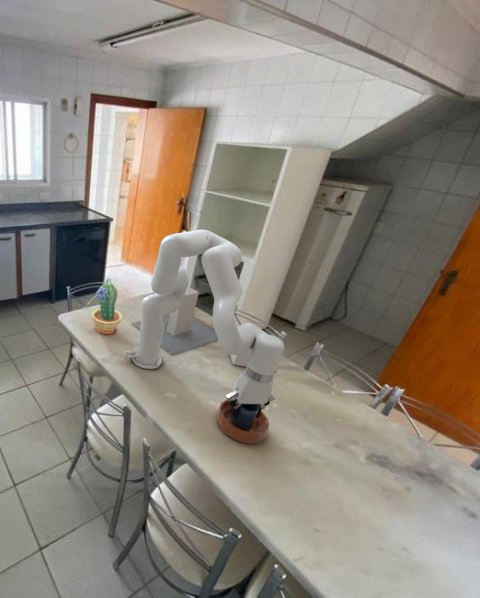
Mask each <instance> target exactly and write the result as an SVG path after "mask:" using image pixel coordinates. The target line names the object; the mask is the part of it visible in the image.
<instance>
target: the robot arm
mask: <svg viewBox="0 0 480 598" xmlns="http://www.w3.org/2000/svg"><path fill="white" fill-rule="evenodd" d="M198 255H201V258H200V261H201V265H202V268H203V271H204V273H205V277H206V279H207V283H208V284H209V288H210V291H211V293H212V296H213V300H214V302H213V307H212V325H213V330H214V331H215V333H216V335H217V338H218V343H219V345H220V347H221V348H222V349H223V351H224V352H226V353H227V354H229V355H230V354H231V355H239V354H241V353H243V352H245V351H247V350H248V349H251V350H252V353H251V356H250V359H249V362H248V365H247V367H246V368H245V370H243V371H242V372H241V373H240V375H239V376H238V378H237V379H236V382H235V384H234V386H233V389H232V392H229V393H228V394H226V395H225V398H226V400H228V401H229V402H230V404H231V405H232V406H231V409H230V413H231V414H232V416H233V417H234V418H237V415H238V412H239V409H238V408H239V407H240V406H241V405H242V404H258V405H259V407H260V409H259V412H258V414H257V417H256V418H259V416H260V413H261V411H262V412H263V410H265V409H266V407H267V406H268V405H270V403H273V402H274V401H275V400H276V397H275V396H274V395H273V394H272V392H273V388H274V376H275V375H276V374H278V370H277V368H278V366H279V363H280V361H281V358H282V356H283V353H284V350H285V344H284V342H283V340H282V339H280V338H279V337H277V336H275V335H271V334H269V333H267V332H266V331H264V330H263V329H260V328H258V327H257V326H255V325H256V324H253V323H250V322H244V324H243V323H242V324H240V325H237V323H236V319H235V315H236V314H235V313H236V307H237V304H238V302H239V300H240V298H241V296H242V293H243V288H242V285H241V283H240V280H239V278H238V275H237V272H236V270H235V268H236V267H239V265H240V264H241V263H242V260H243V254H242V251H241V249H240V248H239V247H238V246H237V245H236V244H234V243H233V242H231V241H229V240H228V239H226V238H224V237H222V236H220V235H218V234H217V233H214V232H212V231H210V230H207V229H196V230H190V231H189V230H188V231H184V232H178V233H172V234H169V235H167V236H165V237H164V238H163V239H162V241H161V242H160V245H159V250H158V257H157V260H156V263H155V266H154V270H153V274H152V278H151V280H150V281H151V282H150V288H151V290H152V292H153V293H151V294H149V295H147V296H145V297H144V298H143V300H142V301H141V303H140V312H141V316H140V322H141V325H140V329H139V333H138V339H137V346H136V347H134V349H132V350H125V351H124V354H125V356H128V358H129V359H131V360H132V362H133V364H135V365H136V366H138V367H139V368H142V369H146V370H155V369H158V368H159V367H160V366H161V365H162V362H163V360H162V358H161V356H160V352H161V348H162V346H161V342H162V337H163V331H164V322H163V320H162V318H163V316H166V315H170V313H172V312H174V311H176V310H178V309H179V307H180V306H181V304H182V301H183V298H184V296H185V295H186V293H187V289H188V287H189V284H190V276H189V273H188V271H187V269H186V268H185V267H184V266H182V265H181V264H182V258H189V257H194V256H198ZM237 401H238V403H237V404H236V402H237Z"/></svg>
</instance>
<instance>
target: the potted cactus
mask: <svg viewBox="0 0 480 598" xmlns="http://www.w3.org/2000/svg"><path fill="white" fill-rule="evenodd" d="M96 296H97V297H96V298H97V301H98V303H99V307H100V308H97V309H94V310H93V311H92V312H91V319H92V321H93V322H94V323H93V324H94V325H95V327H96V331H97V332H99V333H100V334H103V335H110V334H113V333H114V332H115V329H116V328H117V327H118V326H119V324H120V323H121V322H122V321H123V319H124V318H123V314H122V313H121V312H119V311H118V309H117V310H116V309H115V305H116V302H117V300H118V290H117V288H116V286H115V285H114V284H113V283H112V282H111V281H110V282H108V281H106V282H104V283H102V285H101V286H100V287H99V288H98V290H97V291H96Z"/></svg>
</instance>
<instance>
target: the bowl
mask: <svg viewBox="0 0 480 598" xmlns="http://www.w3.org/2000/svg"><path fill="white" fill-rule="evenodd" d="M231 406H232V405H231V404H230V402H229V401H228V400H227V399H225V400H224V401H222V402H220V405H219V407H218V410H217V413H216V416H215V417H216V423H217V425H218V426H219V429H221V430H222V432H223V433H224V434H226V435H227V436H229V437H230V438H231V439H233V440H235V441H238V442H240V443H244V444H247V445H249V444H250V445H251V444H252V445H253V444H254V445H255V444H258V443H261V442H262V441H263V440H264V439H265V437H266V436H267V433H268V431H269V429H270V422H269V421H270V420H269V418H268V417H267V416H266V414H265V413H264V412H263V410H262V411H261V413H260V416H259V418H256V419H255V422H254V424H253V426H252V428H251V429H249V430H244V429H241V428H238V427H237V426H235V425H234V424H233V423H232V421H231V415H232V414H231V413H230V409H231Z"/></svg>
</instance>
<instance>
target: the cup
mask: <svg viewBox="0 0 480 598" xmlns="http://www.w3.org/2000/svg"><path fill="white" fill-rule="evenodd" d="M237 403H238V401H237V402H236V404H237ZM238 409H239V412H238V415H237V418H234V417H233V416H232V415H231V421H232V423H233V424H234V425H235V426H237V427H238V428H241V429H244V430H249V429H251V428H252V426H253V424H254V422H255V419H256V417H257V414H258V412H259V409H260V407H259V405H258V404H242V405H241V406H240V407H239V408H238Z"/></svg>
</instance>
